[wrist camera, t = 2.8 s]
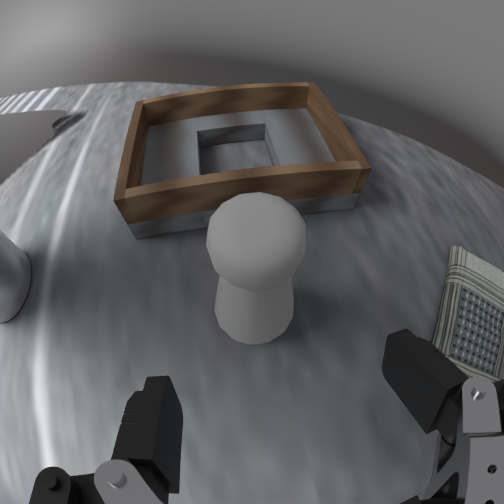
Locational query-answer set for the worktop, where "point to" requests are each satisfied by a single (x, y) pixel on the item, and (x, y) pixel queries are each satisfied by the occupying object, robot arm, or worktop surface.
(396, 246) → the worktop surface
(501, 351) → the dish towel
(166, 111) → the bore box
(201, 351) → the worktop surface
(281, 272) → the salt shaker
